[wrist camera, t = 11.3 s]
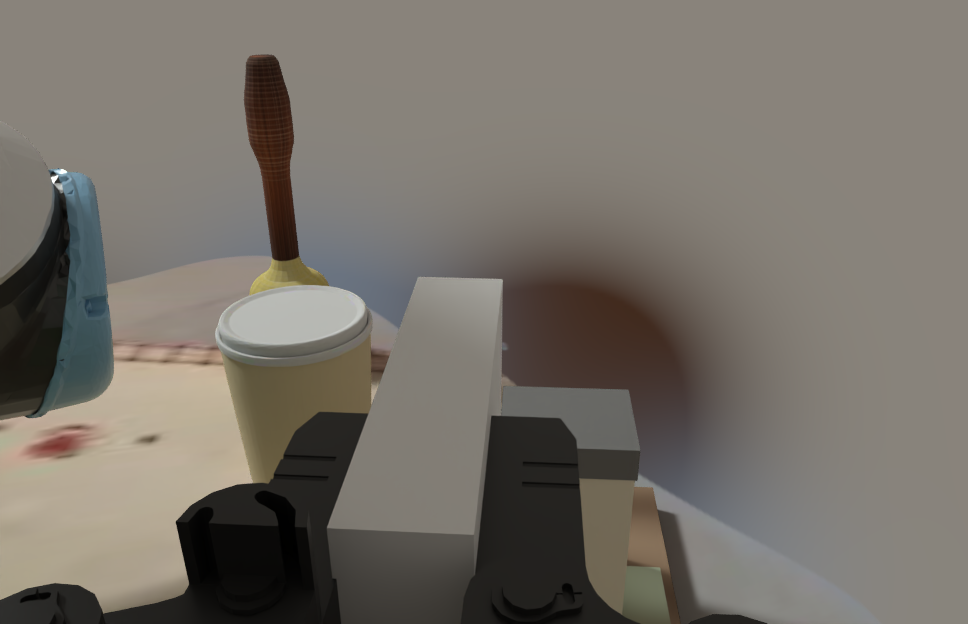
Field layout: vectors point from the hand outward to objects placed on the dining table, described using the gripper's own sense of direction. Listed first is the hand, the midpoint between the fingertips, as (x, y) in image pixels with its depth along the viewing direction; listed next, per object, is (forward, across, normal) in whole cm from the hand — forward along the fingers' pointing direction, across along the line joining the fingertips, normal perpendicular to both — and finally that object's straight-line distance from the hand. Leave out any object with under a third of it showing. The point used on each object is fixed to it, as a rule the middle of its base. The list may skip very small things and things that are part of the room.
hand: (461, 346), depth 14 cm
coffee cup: (+29, -13, -26) cm, 41 cm away
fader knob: (+18, +3, -23) cm, 30 cm away
